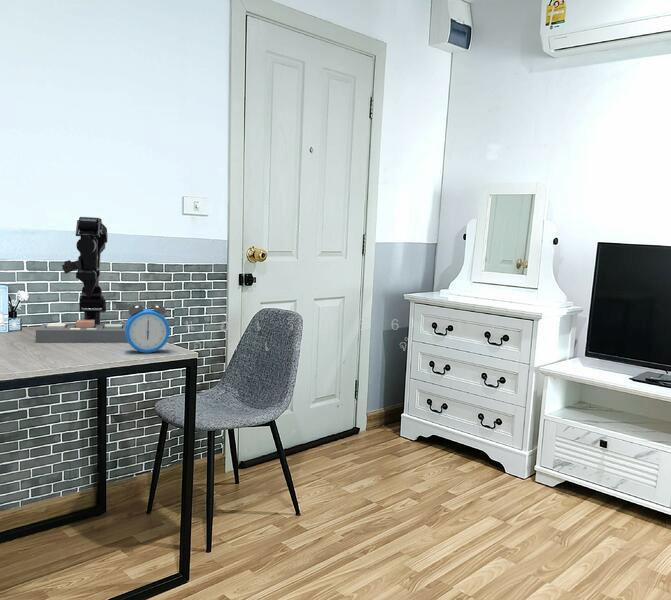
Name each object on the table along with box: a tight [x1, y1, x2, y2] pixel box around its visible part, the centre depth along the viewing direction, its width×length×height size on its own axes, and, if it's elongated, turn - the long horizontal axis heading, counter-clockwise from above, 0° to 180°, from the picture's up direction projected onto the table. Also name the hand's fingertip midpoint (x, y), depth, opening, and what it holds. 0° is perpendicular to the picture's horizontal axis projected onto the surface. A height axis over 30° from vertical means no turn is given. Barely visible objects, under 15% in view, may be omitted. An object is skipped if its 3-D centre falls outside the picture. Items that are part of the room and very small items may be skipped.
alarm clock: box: [124, 303, 171, 354], centre depth 192 cm, size 13×6×15 cm, turn 112°
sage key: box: [104, 323, 123, 328], centre depth 213 cm, size 5×5×4 cm
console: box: [35, 323, 128, 344], centre depth 209 cm, size 13×28×4 cm, turn 106°
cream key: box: [46, 323, 67, 328], centre depth 208 cm, size 5×5×4 cm
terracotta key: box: [75, 319, 95, 328], centre depth 210 cm, size 5×5×4 cm
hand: (88, 297), depth 218 cm, fingers closed
